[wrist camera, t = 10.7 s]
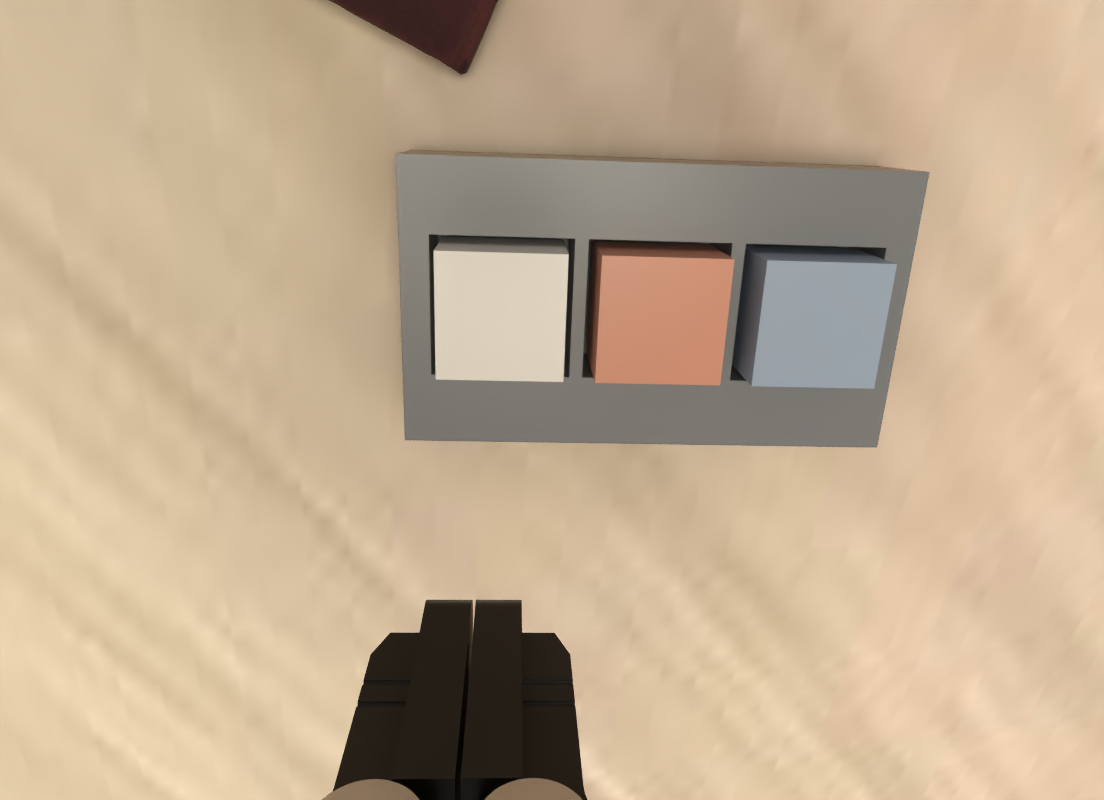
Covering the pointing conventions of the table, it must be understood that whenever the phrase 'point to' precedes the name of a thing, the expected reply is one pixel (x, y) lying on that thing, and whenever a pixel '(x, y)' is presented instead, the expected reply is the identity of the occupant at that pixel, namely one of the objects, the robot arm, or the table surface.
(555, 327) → the key white
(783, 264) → the key blue
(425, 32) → the book
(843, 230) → the console
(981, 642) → the table surface
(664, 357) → the key terracotta
